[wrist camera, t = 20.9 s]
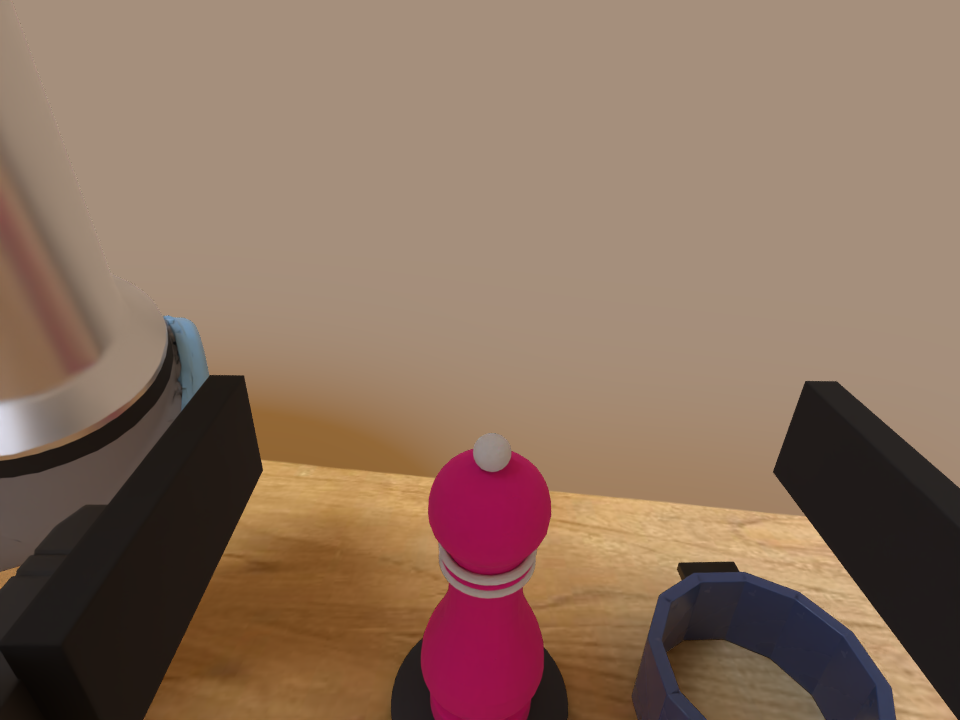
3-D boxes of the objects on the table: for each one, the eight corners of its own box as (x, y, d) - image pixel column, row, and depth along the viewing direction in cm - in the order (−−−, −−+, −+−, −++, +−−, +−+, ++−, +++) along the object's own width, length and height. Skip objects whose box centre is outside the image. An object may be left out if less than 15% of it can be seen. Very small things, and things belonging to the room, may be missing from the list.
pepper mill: (436, 636, 38) (432, 387, 29) (541, 652, 38) (573, 402, 28) (409, 748, 32) (393, 479, 23) (534, 771, 31) (572, 501, 22)
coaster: (353, 724, 34) (352, 719, 34) (458, 597, 42) (458, 592, 42) (510, 852, 29) (510, 846, 28) (595, 678, 37) (596, 672, 36)
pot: (686, 894, 27) (715, 836, 24) (607, 612, 41) (619, 554, 38) (932, 882, 28) (987, 824, 25) (773, 608, 42) (797, 551, 39)
